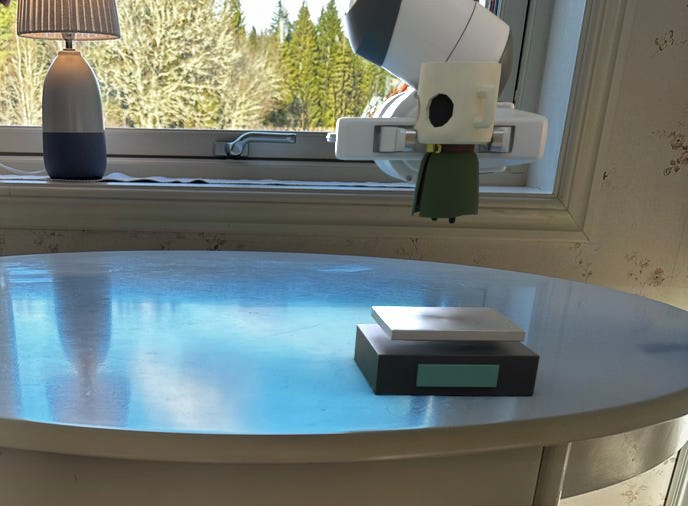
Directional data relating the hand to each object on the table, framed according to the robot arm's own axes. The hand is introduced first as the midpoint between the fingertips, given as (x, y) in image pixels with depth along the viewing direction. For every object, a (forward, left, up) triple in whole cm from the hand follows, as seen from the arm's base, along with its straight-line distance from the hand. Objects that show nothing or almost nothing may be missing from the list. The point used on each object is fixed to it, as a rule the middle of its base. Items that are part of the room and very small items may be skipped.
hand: (454, 140), depth 87 cm
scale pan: (+4, +20, -13) cm, 24 cm away
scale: (+4, +20, -17) cm, 26 cm away
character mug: (0, -1, -7) cm, 7 cm away
